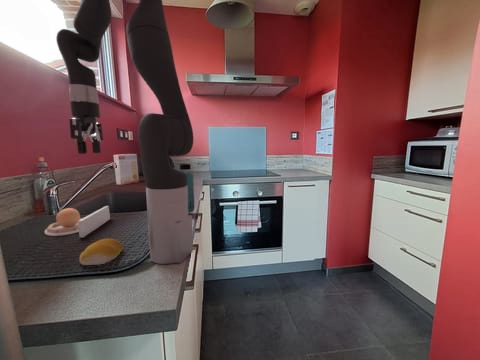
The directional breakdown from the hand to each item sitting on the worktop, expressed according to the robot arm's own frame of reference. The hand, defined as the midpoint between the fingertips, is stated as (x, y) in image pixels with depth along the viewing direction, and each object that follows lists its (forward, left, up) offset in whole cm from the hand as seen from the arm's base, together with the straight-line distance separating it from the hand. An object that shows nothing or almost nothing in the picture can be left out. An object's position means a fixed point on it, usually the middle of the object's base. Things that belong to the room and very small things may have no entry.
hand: (90, 153), depth 71 cm
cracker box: (+51, -69, -24) cm, 89 cm away
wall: (-4, +3, -24) cm, 24 cm away
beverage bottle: (-25, -17, -24) cm, 39 cm away
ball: (+4, +6, -20) cm, 22 cm away
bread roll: (-22, +18, -24) cm, 38 cm away
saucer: (+4, +6, -24) cm, 25 cm away
